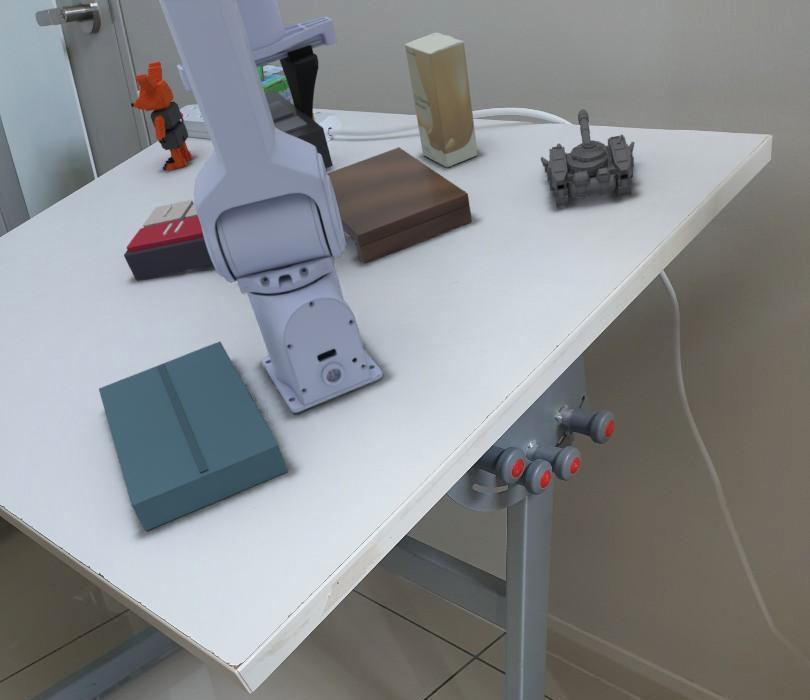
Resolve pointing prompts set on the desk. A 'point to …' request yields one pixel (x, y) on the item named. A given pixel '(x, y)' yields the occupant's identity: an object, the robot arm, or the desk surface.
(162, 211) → the calculator
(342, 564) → the desk surface
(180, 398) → the teal grooved block
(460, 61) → the cosmetic box
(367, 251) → the wooden keepsake box
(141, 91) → the toy animal
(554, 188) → the tank toy
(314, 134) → the remote
